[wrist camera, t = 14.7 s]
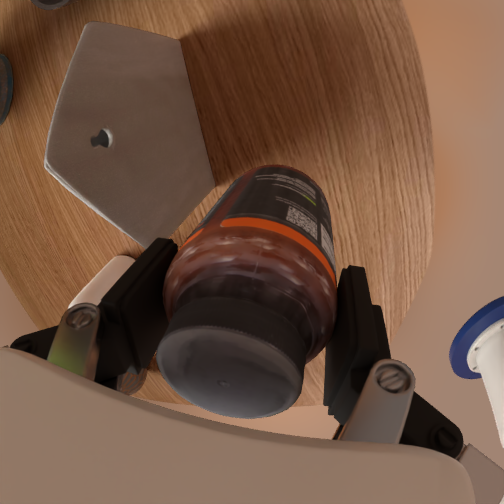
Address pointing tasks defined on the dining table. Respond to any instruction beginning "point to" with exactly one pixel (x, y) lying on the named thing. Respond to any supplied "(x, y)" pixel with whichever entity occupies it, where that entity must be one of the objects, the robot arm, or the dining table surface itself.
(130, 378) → the vase
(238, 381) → the supplement bottle
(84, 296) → the can
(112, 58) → the planter
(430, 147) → the dining table surface
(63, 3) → the bowl
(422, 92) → the dining table surface
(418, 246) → the dining table surface
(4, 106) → the lantern
